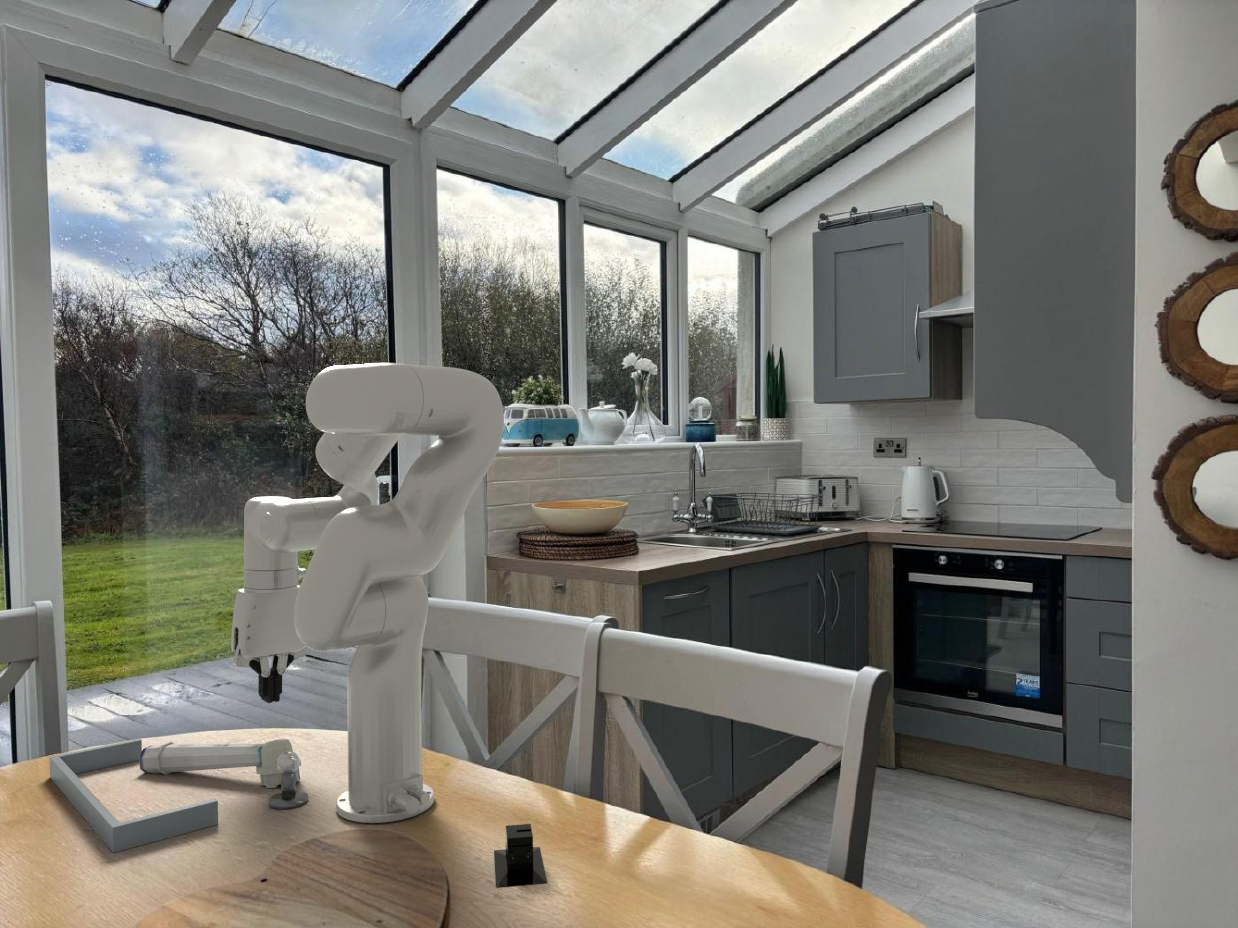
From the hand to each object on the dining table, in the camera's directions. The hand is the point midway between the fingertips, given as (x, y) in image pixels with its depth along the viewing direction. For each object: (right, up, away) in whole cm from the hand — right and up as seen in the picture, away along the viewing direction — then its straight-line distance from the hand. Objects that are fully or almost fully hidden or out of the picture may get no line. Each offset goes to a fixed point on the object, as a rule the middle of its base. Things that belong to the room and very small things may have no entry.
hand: (270, 699), depth 139 cm
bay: (-14, -10, -14) cm, 22 cm away
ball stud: (+8, -10, -15) cm, 20 cm away
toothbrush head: (-5, -10, -6) cm, 13 cm away
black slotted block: (+41, -11, -34) cm, 55 cm away
